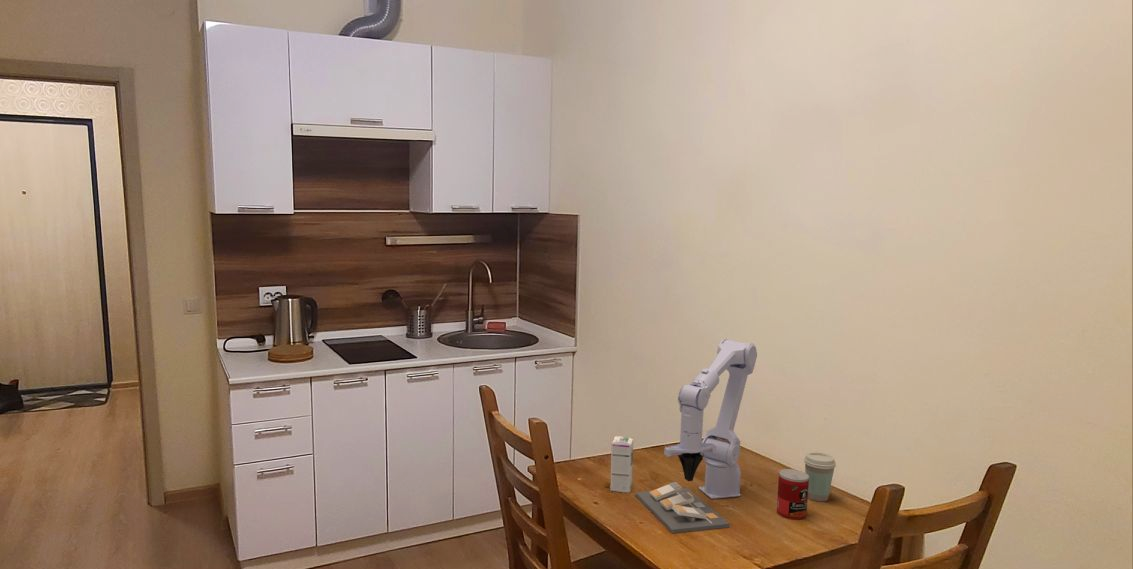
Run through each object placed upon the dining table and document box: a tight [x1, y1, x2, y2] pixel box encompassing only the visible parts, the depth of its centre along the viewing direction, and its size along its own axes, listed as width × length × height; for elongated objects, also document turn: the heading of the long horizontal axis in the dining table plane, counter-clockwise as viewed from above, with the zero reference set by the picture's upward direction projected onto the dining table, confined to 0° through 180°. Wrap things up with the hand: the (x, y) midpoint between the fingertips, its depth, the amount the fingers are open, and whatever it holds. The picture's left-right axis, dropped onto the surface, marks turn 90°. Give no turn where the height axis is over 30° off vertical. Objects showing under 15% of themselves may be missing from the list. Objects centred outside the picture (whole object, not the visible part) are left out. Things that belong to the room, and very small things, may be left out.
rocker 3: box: [672, 505, 707, 519], centre depth 187 cm, size 8×4×1 cm, turn 107°
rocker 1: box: [650, 481, 683, 501], centre depth 200 cm, size 8×4×1 cm, turn 107°
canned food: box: [776, 468, 809, 520], centre depth 194 cm, size 8×8×11 cm
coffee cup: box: [803, 452, 837, 502], centre depth 206 cm, size 8×9×12 cm
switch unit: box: [634, 487, 731, 534], centre depth 194 cm, size 16×24×2 cm, turn 17°
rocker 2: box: [660, 492, 694, 510], centre depth 193 cm, size 8×4×1 cm, turn 107°
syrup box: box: [609, 435, 634, 494], centre depth 207 cm, size 6×6×14 cm
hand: (688, 479), depth 194 cm, fingers closed
